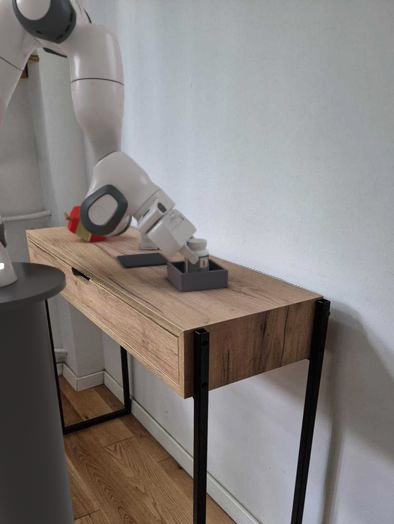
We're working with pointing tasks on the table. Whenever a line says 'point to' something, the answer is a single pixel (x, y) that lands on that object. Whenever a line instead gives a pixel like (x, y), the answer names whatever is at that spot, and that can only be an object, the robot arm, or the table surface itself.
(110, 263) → the table surface
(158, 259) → the mat
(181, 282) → the open box
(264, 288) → the table surface
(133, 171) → the robot arm
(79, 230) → the apple
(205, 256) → the pill bottle
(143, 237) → the ink box
